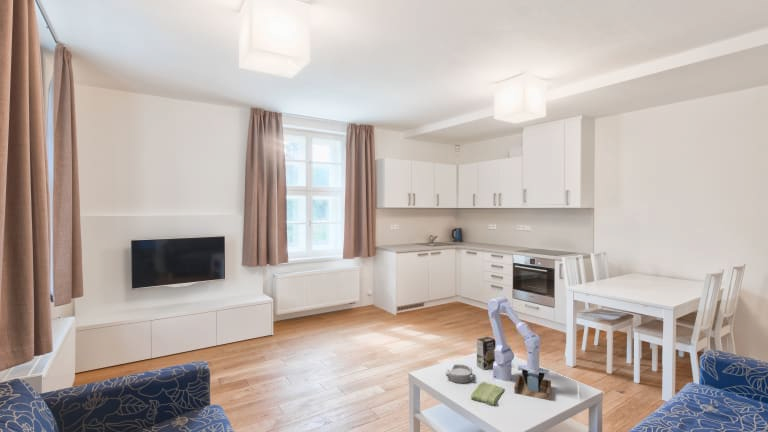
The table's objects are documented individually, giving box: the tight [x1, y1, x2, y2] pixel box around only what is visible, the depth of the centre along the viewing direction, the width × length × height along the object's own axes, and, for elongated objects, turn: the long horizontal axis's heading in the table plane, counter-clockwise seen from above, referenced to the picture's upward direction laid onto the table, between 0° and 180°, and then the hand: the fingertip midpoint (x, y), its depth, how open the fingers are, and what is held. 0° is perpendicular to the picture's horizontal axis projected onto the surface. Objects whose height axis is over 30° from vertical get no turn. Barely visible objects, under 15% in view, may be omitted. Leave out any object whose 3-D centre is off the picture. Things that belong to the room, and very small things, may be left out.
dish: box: [445, 363, 474, 384], centre depth 204 cm, size 14×14×5 cm
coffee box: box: [476, 336, 496, 371], centre depth 218 cm, size 9×6×16 cm
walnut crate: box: [514, 374, 552, 401], centre depth 188 cm, size 16×14×4 cm
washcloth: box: [470, 381, 506, 407], centre depth 186 cm, size 13×18×3 cm
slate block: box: [527, 372, 539, 392], centre depth 189 cm, size 5×5×7 cm
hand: (533, 386), depth 189 cm, fingers closed on slate block, 5 cm apart
